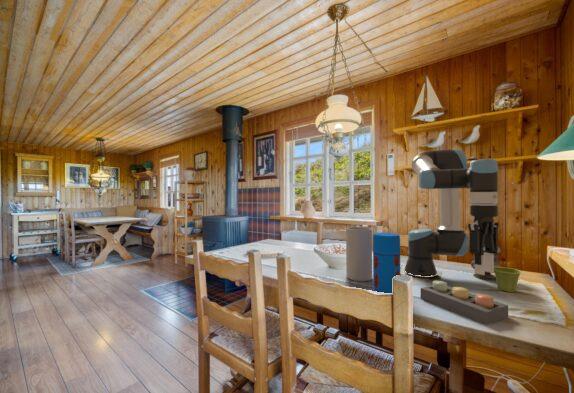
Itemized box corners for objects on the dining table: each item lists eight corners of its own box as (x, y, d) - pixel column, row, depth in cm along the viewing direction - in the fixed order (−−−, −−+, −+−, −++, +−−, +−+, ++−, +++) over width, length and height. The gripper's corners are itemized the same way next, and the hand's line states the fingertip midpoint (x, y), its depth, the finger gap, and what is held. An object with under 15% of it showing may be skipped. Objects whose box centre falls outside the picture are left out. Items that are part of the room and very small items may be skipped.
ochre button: (449, 298, 97) (449, 288, 97) (457, 296, 99) (457, 286, 99) (463, 303, 92) (463, 292, 92) (471, 301, 94) (471, 290, 94)
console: (420, 297, 104) (420, 288, 104) (440, 293, 109) (440, 283, 109) (487, 324, 82) (487, 312, 82) (508, 317, 87) (508, 305, 87)
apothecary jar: (480, 280, 124) (479, 243, 124) (465, 273, 136) (465, 239, 136) (507, 281, 122) (507, 243, 122) (490, 273, 134) (490, 239, 134)
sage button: (429, 291, 104) (429, 281, 104) (438, 289, 106) (438, 279, 106) (441, 295, 99) (441, 285, 99) (450, 293, 101) (450, 283, 101)
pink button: (472, 306, 89) (472, 295, 89) (480, 304, 91) (480, 293, 91) (488, 312, 85) (488, 300, 85) (497, 309, 87) (497, 298, 87)
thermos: (368, 290, 113) (367, 233, 113) (387, 286, 117) (386, 231, 117) (386, 299, 103) (385, 236, 103) (406, 295, 107) (405, 235, 107)
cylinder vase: (361, 273, 138) (361, 226, 138) (377, 280, 126) (377, 229, 126) (341, 275, 134) (341, 227, 134) (356, 283, 122) (355, 230, 122)
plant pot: (527, 294, 106) (526, 273, 106) (500, 293, 108) (500, 272, 108) (512, 286, 115) (512, 267, 115) (488, 285, 117) (488, 266, 117)
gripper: (480, 205, 81) (480, 279, 81) (511, 204, 88) (511, 272, 88) (456, 205, 88) (456, 273, 88) (486, 203, 95) (487, 267, 95)
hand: (484, 272), depth 88 cm, fingers open, 4 cm apart
